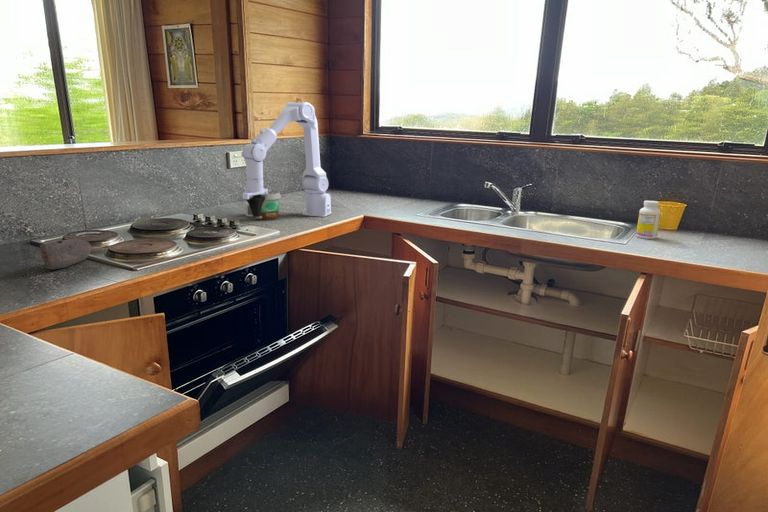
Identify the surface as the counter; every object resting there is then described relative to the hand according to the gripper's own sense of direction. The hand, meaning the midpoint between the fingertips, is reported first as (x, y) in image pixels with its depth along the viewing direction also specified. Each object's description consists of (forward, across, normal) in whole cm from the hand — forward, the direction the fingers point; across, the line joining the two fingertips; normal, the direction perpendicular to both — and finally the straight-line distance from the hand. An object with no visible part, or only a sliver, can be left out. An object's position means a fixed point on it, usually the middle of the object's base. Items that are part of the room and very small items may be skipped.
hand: (256, 216), depth 189 cm
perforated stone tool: (+3, +63, -19) cm, 66 cm away
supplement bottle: (+3, -33, +135) cm, 139 cm away
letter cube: (+3, -15, -9) cm, 18 cm away
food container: (+3, -11, 0) cm, 11 cm away
